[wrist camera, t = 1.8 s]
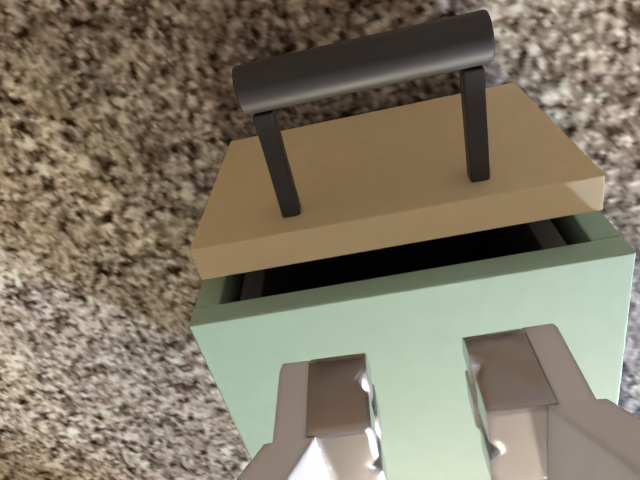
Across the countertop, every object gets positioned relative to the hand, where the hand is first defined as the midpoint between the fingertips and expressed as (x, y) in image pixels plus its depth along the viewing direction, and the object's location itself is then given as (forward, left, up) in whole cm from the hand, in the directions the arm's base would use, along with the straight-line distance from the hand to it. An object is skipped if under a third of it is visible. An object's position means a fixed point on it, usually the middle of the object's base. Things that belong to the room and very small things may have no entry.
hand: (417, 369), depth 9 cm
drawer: (0, +6, -16) cm, 17 cm away
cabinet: (0, +12, -17) cm, 21 cm away
